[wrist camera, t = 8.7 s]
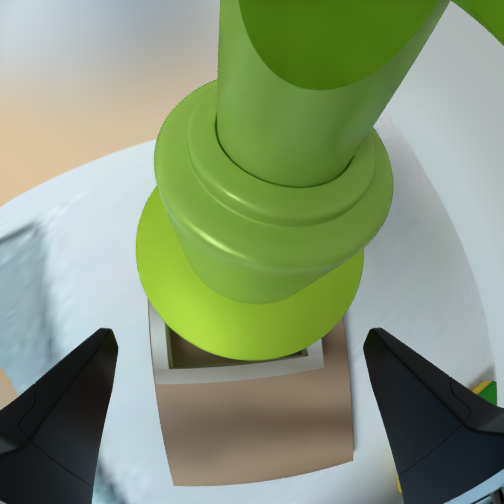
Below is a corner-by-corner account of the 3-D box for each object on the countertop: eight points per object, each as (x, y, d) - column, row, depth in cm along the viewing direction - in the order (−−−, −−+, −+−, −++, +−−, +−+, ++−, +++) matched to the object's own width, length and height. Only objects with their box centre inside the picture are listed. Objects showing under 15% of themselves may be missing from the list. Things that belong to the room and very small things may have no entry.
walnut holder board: (348, 456, 17) (361, 467, 15) (175, 480, 15) (170, 495, 13) (318, 203, 23) (327, 188, 21) (151, 212, 22) (143, 197, 19)
